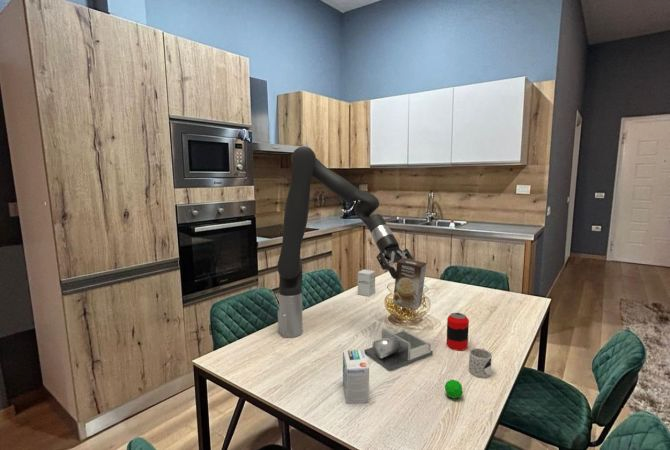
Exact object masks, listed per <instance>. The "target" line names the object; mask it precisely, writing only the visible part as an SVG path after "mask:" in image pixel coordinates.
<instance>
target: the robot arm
mask: <svg viewBox="0 0 670 450" xmlns="http://www.w3.org/2000/svg"><path fill="white" fill-rule="evenodd" d="M290 161H291V179H290V180H291V181H290V186H289V190H288V194H287V196H286V200H285V201H286V202H285V205H284V213H283V223H282V244H281V248H280V253H279V258H278V261H277V266H276V268H277V272H278V274H279V284H278V296H279V299H278V305H279V306H278V307H279V309H278V310H277V333H278V334H280V335H281V336H282V337H283V338H284V339H286V338H296V337H298V336H301V335H302V334H303V333H304V330H303V327H304V326H303V325H304V324H303V261H302V257H301V248H302V242H303V238H304V235H305V232H306V228H307V225H308V217H309V211H310V199H311V195H310V194H311V184H312V183H311V182H312V178H314V180H315V179H316V180H317V181H318V182H320V183H321V184H322V185H324V186H325V188H327V189H328V190H329V191H331V192H332V194H334V195H336V196H337V197H338V198H340V199H341V200H342V201H343V202H345V203H347V204H351V203H353V202H355V201H358V202H357V204H356V205H355V206H354V213H355V215H356V216H357V217H358V219H360V220H361V221H362V222H363V223H364V225H366V227H367V229H368V230H369V232H370V233H371V234H370V235H371V237H372V239H373V242H374V243H375V245H376V247H377V248H378V250H379V252H378V254H377V255H376V259H377V262H378V264H379V265H380V268H381V269H382V270H383V271H384V270H387V271H388V273H389V274H390V276H391V278H392V279H393V280H395V279H396V278H397V277H398V274H397V272H396V269H395V267H394V264H395V263H396V264H397V261H399V260H400V259H402V258H407V259H411V260H415V259H414V258H413V256H412V254H411V253H410V251H409V249H408V248H404V250H403V249H400V244H399V241H398V240H397V238H396V237H395V235H394V233H393V231H392V230H391V228H390V227H389V226H388V224H387V222H386V220H385V218H384V217H383V215H382V214H379V213H376V214H373V213H374V212H375V211H376V210H377V209H378V208H379V206H380V202H379V199H378V197H376V195H374V194H373V193H370V192H367V191H365V190H362V189H360V188H358V187H356V186H355V185H353V184H352V183H351V182H350V181H348V180H347V179H345V178H344V177H343V176H340V175H339V174H338V173H336V172H334V171H333V170H331V169H329V168H328V167H327V166H325V164H323V163H322V162H321V161H320V160H319V159H318V158H317V157H316V153H315V152H314V151H313V149H312V148H311V147H309V146H305V145H304V146H299V147H297V148H296V149H295V150H293V152H292V153H291V156H290ZM372 214H373V215H372Z"/></svg>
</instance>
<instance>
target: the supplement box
mask: <svg viewBox="0 0 670 450" xmlns="http://www.w3.org/2000/svg"><path fill="white" fill-rule="evenodd" d="M374 294H376V270H370V269H365V268H364V269H361V270H360V271H358V272H357V295H360V296H364V297H369V298H370V297H371V296H373V295H374Z"/></svg>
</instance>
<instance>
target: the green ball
mask: <svg viewBox="0 0 670 450" xmlns="http://www.w3.org/2000/svg"><path fill="white" fill-rule="evenodd" d="M444 389H445V391H444V392H445V394H446V395H447V396H448V397H449V398H451V399H458V398H461V397H462V395H463V393H464V392H463V386H462V384H461V383H460V381H458V380H455V379H450V380H448V381H447V382H445V384H444Z"/></svg>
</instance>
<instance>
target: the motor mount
mask: <svg viewBox="0 0 670 450" xmlns="http://www.w3.org/2000/svg"><path fill="white" fill-rule="evenodd" d="M371 346H372V347H369V348H366V349H363V350H364V353H365V356H366V357H369V359H371V360H373V361H374V362H376V363H377V364H378V365H380V366H381V367H382V368H384V369H385V370H387V371H388V372H393V371H395V370H397V369H401V368H403V367H405V366H408V365H411V364H414V363H416V362H419V361H421V360H424V359H426V358H429V357H431V356H433V355H434V354H433V353H434V351H433V350H432V343H430V342H428V341H426V340H425V339H423V338H421V337H419V336H417V335H414V334H413V333H411V332H409V331H407V330H406V329H402V330H399V331H396V332H391V331H389V330H388V329H386V328H381V338H380V339H377V340H374V341H373V342H372V345H371Z"/></svg>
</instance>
